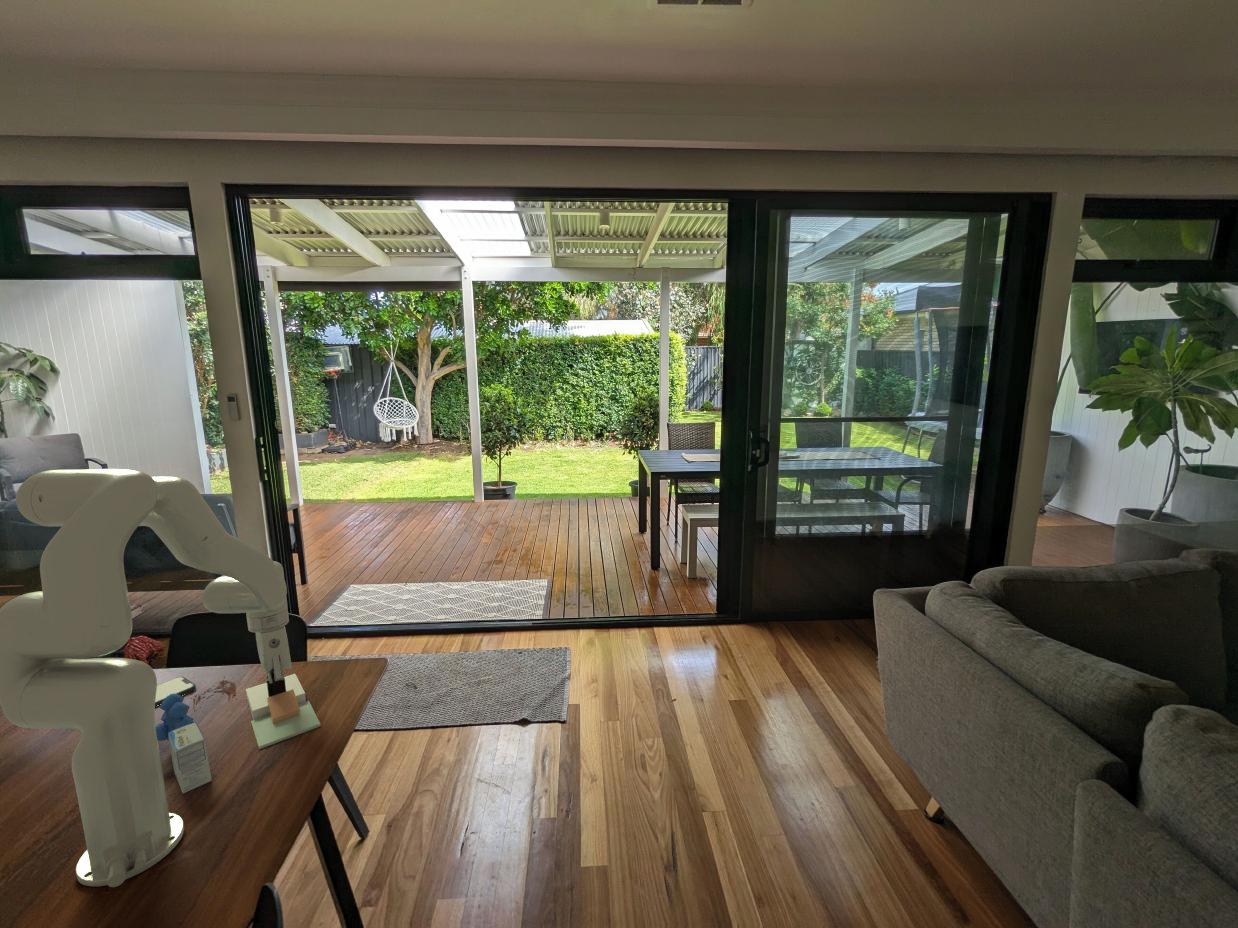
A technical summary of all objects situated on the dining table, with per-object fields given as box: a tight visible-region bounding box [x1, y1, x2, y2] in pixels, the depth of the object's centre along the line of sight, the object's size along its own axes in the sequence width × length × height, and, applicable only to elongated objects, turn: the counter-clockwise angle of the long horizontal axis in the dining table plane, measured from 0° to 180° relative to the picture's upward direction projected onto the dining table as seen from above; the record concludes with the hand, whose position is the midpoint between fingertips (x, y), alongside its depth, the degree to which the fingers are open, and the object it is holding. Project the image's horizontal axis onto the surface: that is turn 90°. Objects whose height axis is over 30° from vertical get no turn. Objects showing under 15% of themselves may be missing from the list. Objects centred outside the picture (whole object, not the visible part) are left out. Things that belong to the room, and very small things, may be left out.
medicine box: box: [168, 721, 213, 794], centre depth 100 cm, size 8×4×9 cm, turn 47°
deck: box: [245, 673, 307, 720], centre depth 124 cm, size 11×10×2 cm
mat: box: [250, 700, 321, 750], centre depth 115 cm, size 11×11×1 cm
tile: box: [267, 689, 300, 724], centre depth 118 cm, size 6×5×2 cm
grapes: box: [155, 693, 195, 742], centre depth 106 cm, size 12×7×12 cm, turn 54°
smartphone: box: [155, 676, 197, 708], centre depth 125 cm, size 9×2×16 cm
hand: (277, 695), depth 121 cm, fingers closed
